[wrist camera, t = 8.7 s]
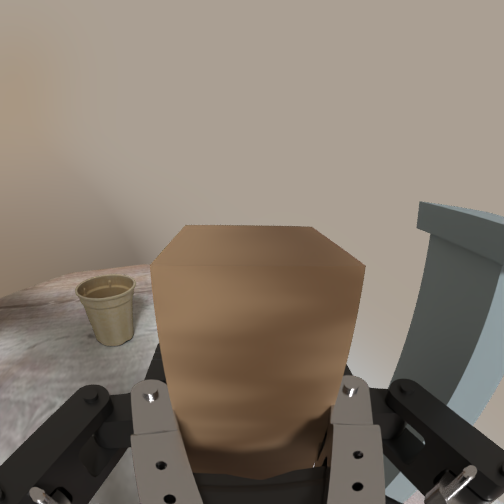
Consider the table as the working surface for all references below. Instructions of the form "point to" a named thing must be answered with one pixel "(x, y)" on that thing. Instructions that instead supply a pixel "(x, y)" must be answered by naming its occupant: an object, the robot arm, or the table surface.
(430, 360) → the tall capped pillar
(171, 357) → the tall brown wooden block
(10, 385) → the table surface
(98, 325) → the flower pot
